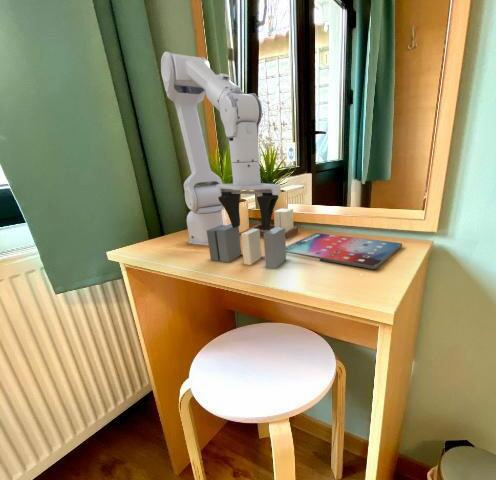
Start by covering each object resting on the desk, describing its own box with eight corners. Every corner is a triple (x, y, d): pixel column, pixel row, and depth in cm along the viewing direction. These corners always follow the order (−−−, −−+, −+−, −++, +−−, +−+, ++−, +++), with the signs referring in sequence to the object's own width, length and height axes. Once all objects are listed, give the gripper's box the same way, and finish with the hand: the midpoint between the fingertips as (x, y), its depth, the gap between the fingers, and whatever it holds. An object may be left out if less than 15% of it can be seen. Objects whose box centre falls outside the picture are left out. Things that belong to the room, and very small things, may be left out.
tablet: (316, 234, 89) (316, 232, 89) (403, 246, 75) (403, 243, 75) (277, 252, 75) (277, 249, 74) (376, 271, 61) (376, 267, 61)
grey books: (210, 260, 71) (206, 228, 68) (224, 253, 76) (220, 223, 73) (275, 268, 65) (273, 234, 62) (286, 260, 69) (285, 227, 66)
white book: (244, 264, 68) (241, 233, 65) (254, 257, 72) (252, 228, 70) (250, 265, 67) (248, 234, 65) (261, 257, 72) (259, 228, 69)
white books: (274, 235, 87) (273, 211, 85) (282, 231, 92) (281, 208, 89) (286, 236, 86) (285, 212, 83) (293, 232, 90) (293, 208, 87)
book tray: (246, 237, 90) (245, 230, 89) (259, 230, 96) (259, 223, 96) (286, 240, 85) (286, 233, 84) (298, 233, 91) (297, 226, 91)
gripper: (204, 163, 61) (213, 229, 66) (267, 162, 55) (272, 234, 61) (224, 162, 67) (231, 222, 72) (283, 160, 61) (286, 226, 67)
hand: (250, 227), depth 67 cm, fingers open, 7 cm apart
